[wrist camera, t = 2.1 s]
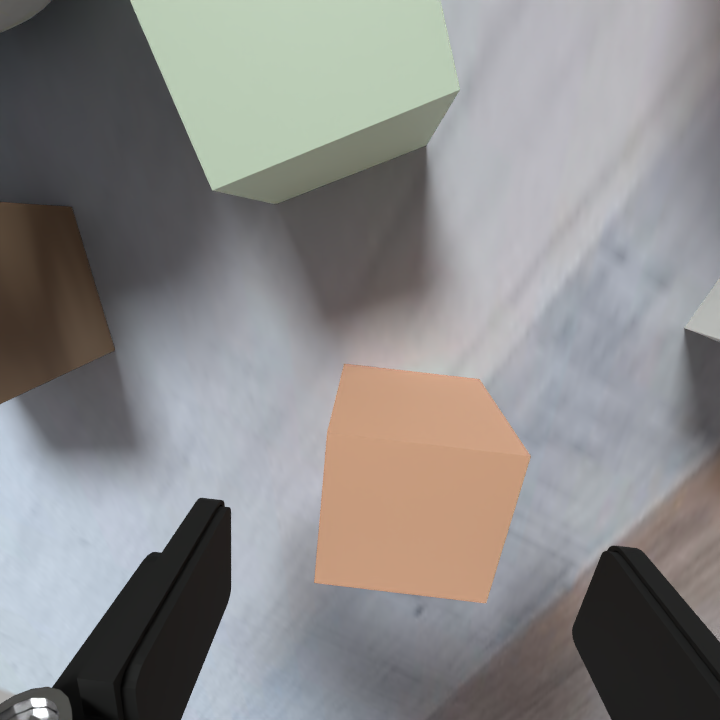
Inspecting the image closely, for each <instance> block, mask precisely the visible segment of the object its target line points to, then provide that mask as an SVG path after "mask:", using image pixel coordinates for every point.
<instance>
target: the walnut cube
mask: <svg viewBox="0 0 720 720" xmlns="http://www.w3.org/2000/svg"><path fill="white" fill-rule="evenodd" d="M113 351H115V348H114V345H113V341H112V338H111V335H110V331H109V328H108V325H107V321H106V318H105V315H104V312H103V308H102V305H101V302H100V298H99V295H98V292H97V288H96V285H95V282H94V278H93V275H92V272H91V269H90V265H89V262H88V259H87V255H86V252H85V249H84V245H83V242H82V239H81V235H80V232H79V229H78V226H77V222H76V219H75V216H74V212H73V209H72V207H68V206H53V205H38V204H23V203H8V202H0V404H1V403H3V402H6V401H8V400H10V399H12V398H14V397H16V396H18V395H21V394H23V393H25V392H27V391H29V390H31V389H33V388H36V387H38V386H40V385H42V384H44V383H46V382H48V381H51V380H53V379H55V378H57V377H59V376H61V375H63V374H66V373H68V372H70V371H72V370H74V369H76V368H78V367H81V366H83V365H85V364H87V363H89V362H91V361H93V360H96V359H98V358H100V357H102V356H104V355H106V354H108V353H111V352H113Z"/></svg>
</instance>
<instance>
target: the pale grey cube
mask: <svg viewBox="0 0 720 720" xmlns="http://www.w3.org/2000/svg"><path fill="white" fill-rule="evenodd" d="M685 328H686V329H688V330H691V331H693V332H696V333H698V334H700V335H703V336H705V337H708V338H710V339H713V340H715V341H717V342H720V278H719V280H718V281H717V282H716V284H715V285H714V287H713V288H712V289H711V291H710V292H709V294H708V295H707V297H706V298H705V299H704V301H703V302H702V304H701V305H700V306H699V308H698V309H697V311H696V312H695V313H694V315H693V316H692V318H691V319H690V321H689V322H688V323H687V325H686V326H685Z"/></svg>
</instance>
